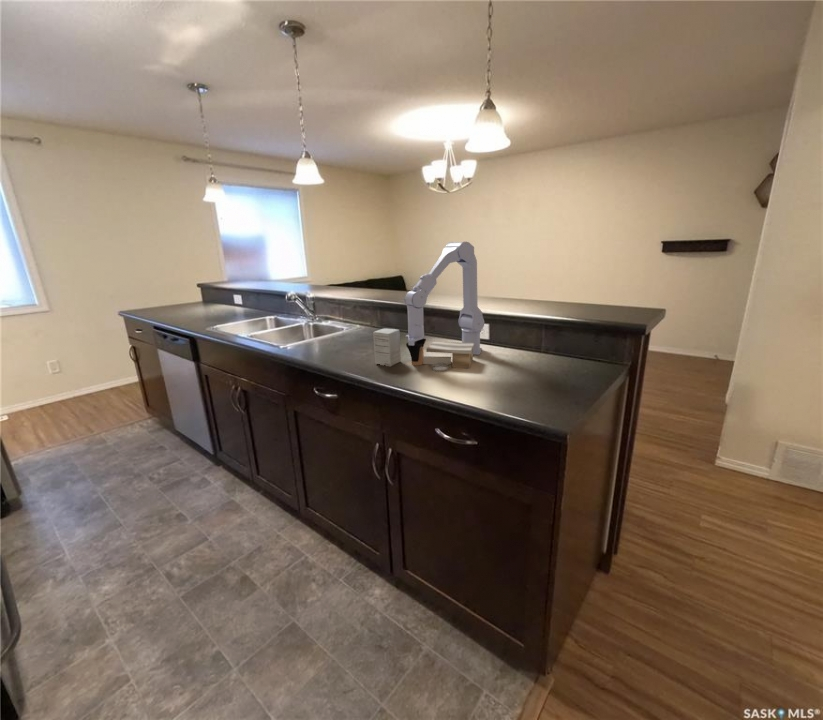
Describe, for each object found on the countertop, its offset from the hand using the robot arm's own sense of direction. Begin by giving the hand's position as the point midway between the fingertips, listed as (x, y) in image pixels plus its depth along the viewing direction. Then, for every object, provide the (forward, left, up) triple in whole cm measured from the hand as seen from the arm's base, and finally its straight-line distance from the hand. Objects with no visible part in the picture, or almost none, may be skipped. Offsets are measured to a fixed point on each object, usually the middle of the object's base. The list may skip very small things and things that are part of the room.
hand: (416, 359), depth 145 cm
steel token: (+5, +10, -2) cm, 11 cm away
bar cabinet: (-3, +12, -1) cm, 12 cm away
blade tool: (-1, +6, -1) cm, 6 cm away
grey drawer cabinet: (+1, -11, -2) cm, 11 cm away
